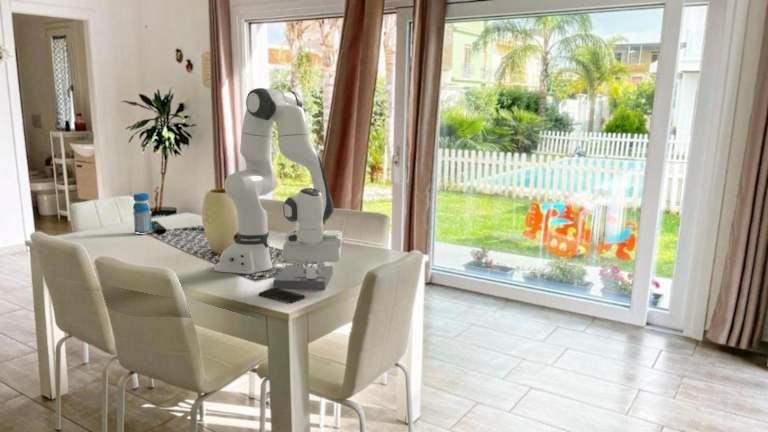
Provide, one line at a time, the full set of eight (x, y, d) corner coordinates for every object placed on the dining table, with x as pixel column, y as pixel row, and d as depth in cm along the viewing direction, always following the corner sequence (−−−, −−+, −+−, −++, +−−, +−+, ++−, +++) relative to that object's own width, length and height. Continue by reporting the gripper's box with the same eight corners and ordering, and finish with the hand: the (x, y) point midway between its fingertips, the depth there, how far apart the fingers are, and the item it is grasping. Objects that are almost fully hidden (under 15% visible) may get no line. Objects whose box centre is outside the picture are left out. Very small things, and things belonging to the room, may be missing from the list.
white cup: (339, 257, 244) (338, 234, 242) (321, 256, 246) (321, 233, 244) (344, 253, 252) (343, 230, 250) (326, 252, 253) (326, 230, 251)
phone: (273, 287, 200) (306, 295, 191) (273, 290, 200) (306, 298, 192) (256, 293, 193) (289, 301, 185) (256, 296, 193) (290, 305, 185)
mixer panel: (273, 288, 201) (273, 279, 201) (286, 272, 221) (286, 264, 220) (325, 289, 200) (324, 281, 200) (332, 273, 220) (332, 265, 219)
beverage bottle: (141, 236, 282) (138, 195, 278) (130, 234, 286) (128, 194, 283) (156, 233, 289) (153, 193, 285) (145, 231, 293) (143, 192, 290)
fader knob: (306, 278, 201) (306, 267, 201) (308, 274, 206) (308, 263, 206) (314, 279, 201) (314, 267, 201) (317, 275, 206) (317, 263, 206)
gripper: (341, 233, 204) (342, 271, 206) (284, 232, 205) (285, 270, 207) (339, 237, 197) (339, 276, 200) (280, 236, 199) (281, 275, 201)
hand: (311, 273), depth 204 cm, fingers closed on fader knob, 3 cm apart
